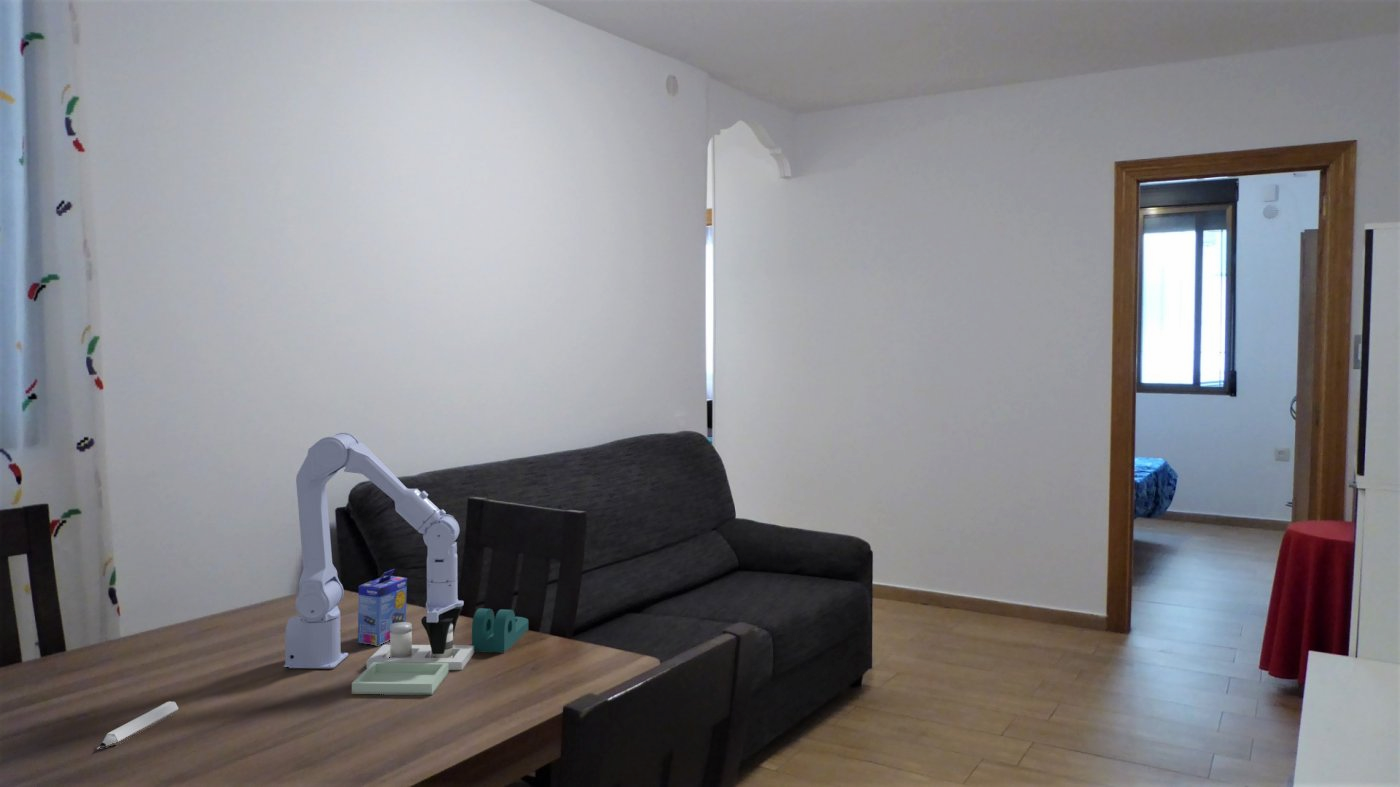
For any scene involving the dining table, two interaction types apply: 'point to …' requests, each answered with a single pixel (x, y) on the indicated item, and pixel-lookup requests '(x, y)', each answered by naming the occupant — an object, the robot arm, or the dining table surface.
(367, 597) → the ink cartridge box
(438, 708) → the dining table surface
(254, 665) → the dining table surface
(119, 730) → the marker
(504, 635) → the bracket
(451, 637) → the cylinder
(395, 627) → the cylinder
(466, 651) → the fuse holder
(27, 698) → the dining table surface
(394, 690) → the parts tray
